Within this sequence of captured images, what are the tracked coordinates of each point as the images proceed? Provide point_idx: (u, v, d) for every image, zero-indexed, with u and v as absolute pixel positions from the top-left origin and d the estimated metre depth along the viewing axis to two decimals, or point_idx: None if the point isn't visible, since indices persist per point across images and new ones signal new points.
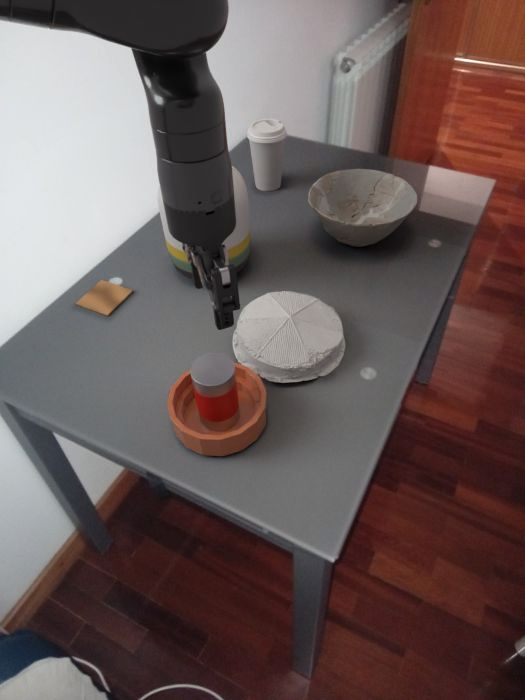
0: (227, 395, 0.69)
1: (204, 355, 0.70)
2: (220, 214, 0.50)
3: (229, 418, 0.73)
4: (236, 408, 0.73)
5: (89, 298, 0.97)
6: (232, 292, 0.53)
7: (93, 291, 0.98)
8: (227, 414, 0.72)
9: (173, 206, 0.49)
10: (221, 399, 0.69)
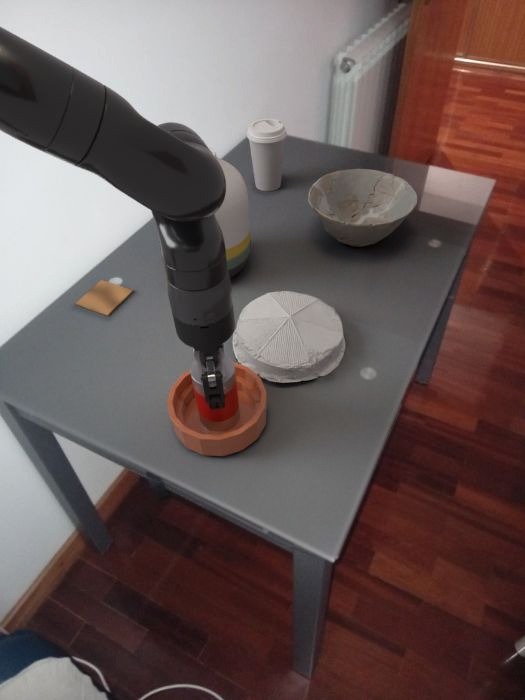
0: (227, 395, 0.69)
1: None
2: (214, 328, 0.58)
3: (229, 418, 0.73)
4: (236, 408, 0.73)
5: (89, 298, 0.97)
6: (218, 391, 0.62)
7: (93, 291, 0.98)
8: (227, 414, 0.72)
9: (175, 316, 0.58)
10: None
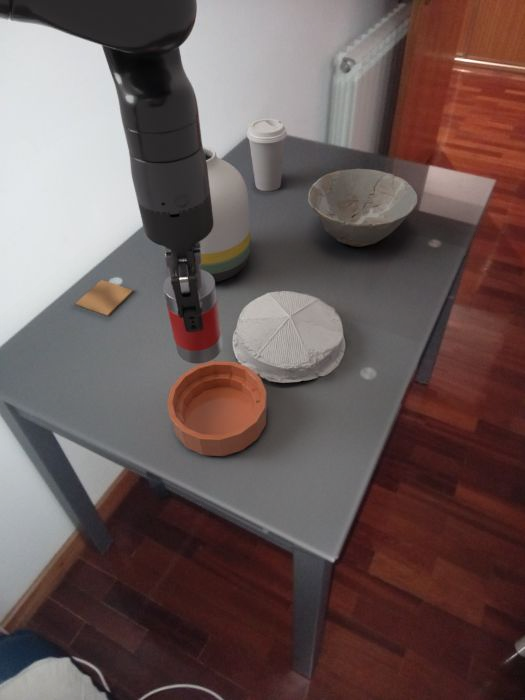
0: (206, 315, 0.60)
1: None
2: (186, 219, 0.49)
3: (209, 347, 0.64)
4: (217, 336, 0.64)
5: (89, 298, 0.97)
6: (192, 300, 0.53)
7: (93, 291, 0.98)
8: (207, 341, 0.63)
9: (141, 203, 0.49)
10: None
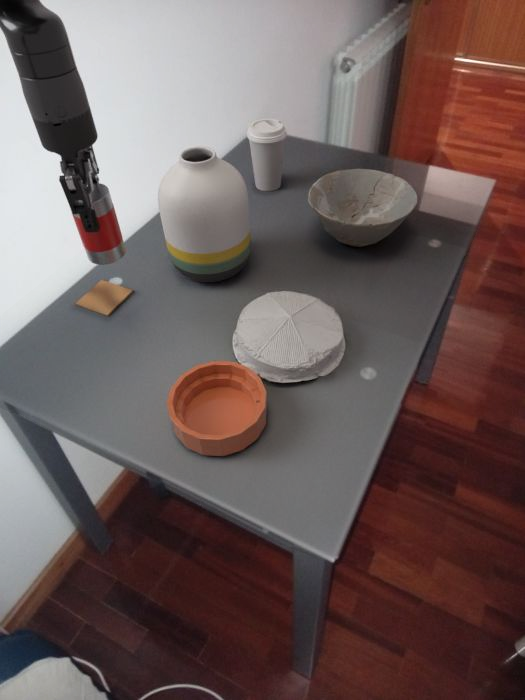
0: (102, 219, 0.74)
1: (83, 184, 0.75)
2: (68, 128, 0.63)
3: (110, 249, 0.78)
4: (117, 241, 0.78)
5: (89, 298, 0.97)
6: (79, 197, 0.67)
7: (93, 291, 0.98)
8: (107, 244, 0.77)
9: (32, 116, 0.63)
10: None
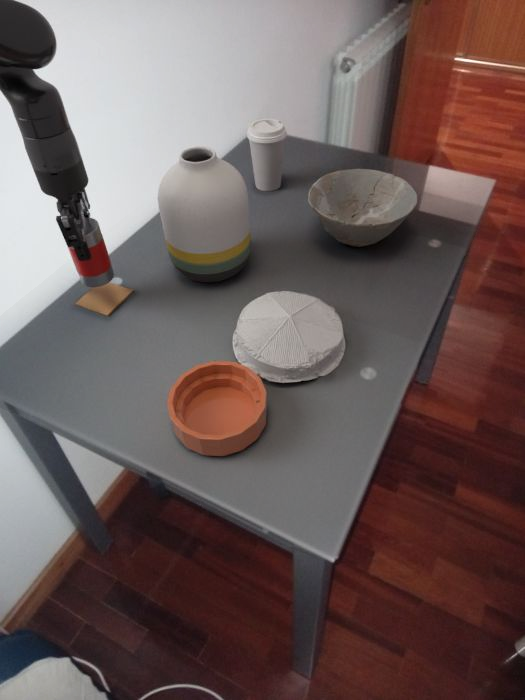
0: (92, 249, 0.86)
1: None
2: (63, 176, 0.75)
3: (100, 274, 0.90)
4: (106, 266, 0.90)
5: (89, 298, 0.97)
6: (73, 233, 0.79)
7: (93, 291, 0.98)
8: (97, 269, 0.89)
9: (33, 166, 0.75)
10: None
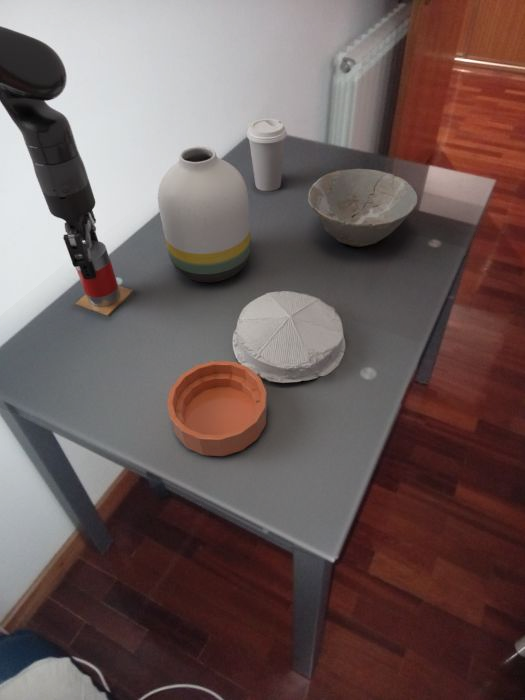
0: (100, 271, 0.89)
1: (84, 242, 0.90)
2: (71, 200, 0.78)
3: (107, 295, 0.93)
4: (113, 287, 0.93)
5: None
6: (79, 252, 0.81)
7: None
8: (104, 290, 0.92)
9: (42, 190, 0.78)
10: (96, 275, 0.89)
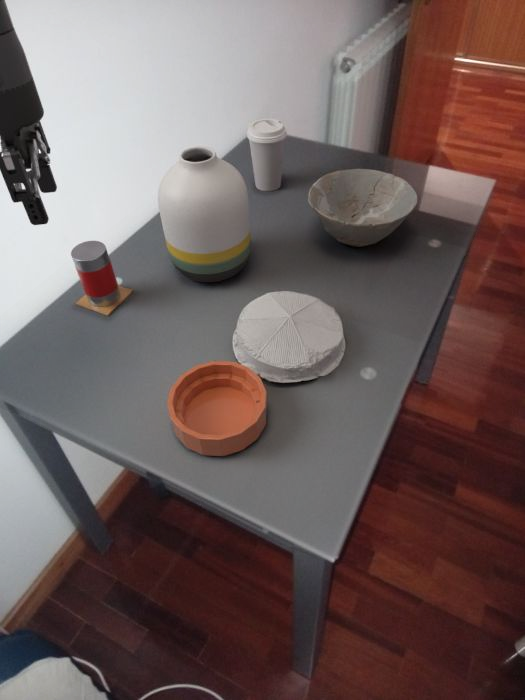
0: (100, 271, 0.89)
1: (84, 242, 0.90)
2: (5, 101, 0.54)
3: (107, 295, 0.93)
4: (113, 287, 0.93)
5: None
6: (19, 179, 0.57)
7: None
8: (104, 290, 0.92)
9: None
10: (96, 275, 0.89)
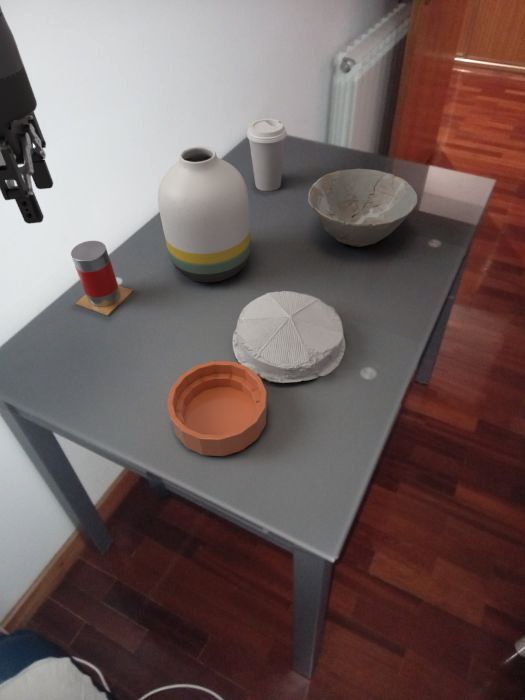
0: (100, 271, 0.89)
1: (84, 242, 0.90)
2: None
3: (107, 295, 0.93)
4: (113, 287, 0.93)
5: None
6: (11, 176, 0.54)
7: None
8: (104, 290, 0.92)
9: None
10: (96, 275, 0.89)
